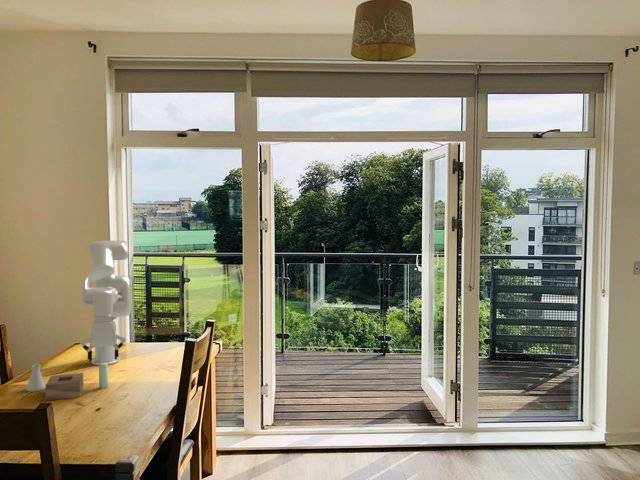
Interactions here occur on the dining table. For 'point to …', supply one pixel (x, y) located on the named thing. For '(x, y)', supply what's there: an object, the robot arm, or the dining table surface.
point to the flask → (36, 380)
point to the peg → (103, 375)
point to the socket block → (64, 386)
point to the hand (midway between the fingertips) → (103, 359)
